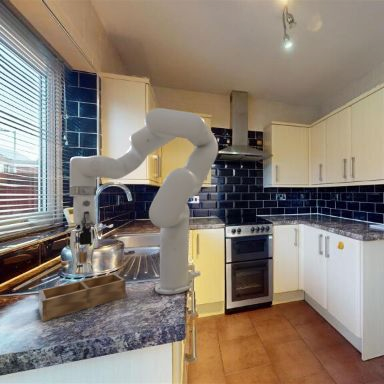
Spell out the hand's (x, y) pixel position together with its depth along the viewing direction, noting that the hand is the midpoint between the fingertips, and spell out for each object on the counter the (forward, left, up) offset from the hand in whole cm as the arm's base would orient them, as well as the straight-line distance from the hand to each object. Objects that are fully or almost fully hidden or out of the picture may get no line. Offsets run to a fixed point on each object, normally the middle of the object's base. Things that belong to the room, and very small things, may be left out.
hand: (82, 242), depth 80 cm
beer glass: (0, 0, -10) cm, 10 cm away
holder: (+2, +13, -16) cm, 21 cm away
